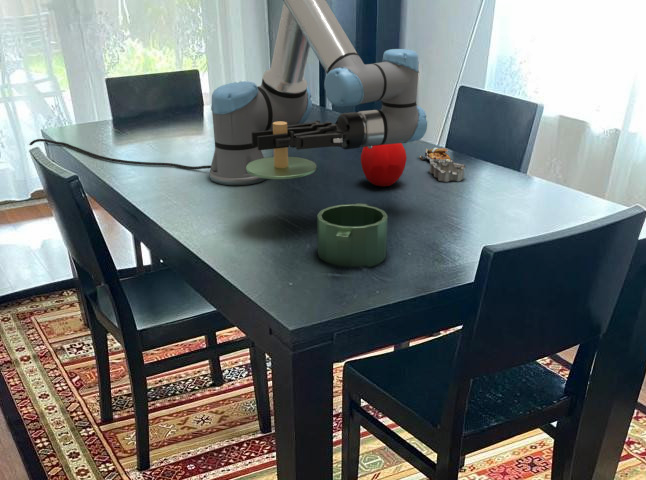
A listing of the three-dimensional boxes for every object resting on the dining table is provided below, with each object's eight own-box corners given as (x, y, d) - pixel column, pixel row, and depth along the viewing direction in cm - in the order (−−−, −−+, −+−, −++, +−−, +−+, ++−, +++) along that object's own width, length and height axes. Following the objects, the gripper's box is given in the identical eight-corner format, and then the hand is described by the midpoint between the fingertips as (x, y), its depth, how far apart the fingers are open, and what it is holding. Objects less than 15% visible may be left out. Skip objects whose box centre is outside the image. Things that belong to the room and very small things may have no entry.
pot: (307, 271, 147) (306, 229, 143) (329, 236, 163) (329, 198, 159) (376, 277, 144) (377, 235, 140) (392, 241, 160) (394, 202, 156)
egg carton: (465, 181, 197) (467, 166, 195) (437, 182, 196) (438, 167, 194) (454, 169, 206) (455, 154, 204) (427, 170, 206) (428, 155, 204)
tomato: (353, 189, 192) (353, 136, 186) (369, 175, 202) (370, 125, 196) (397, 194, 188) (399, 140, 182) (411, 180, 198) (413, 129, 192)
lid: (236, 179, 157) (233, 129, 152) (258, 159, 169) (256, 113, 164) (306, 184, 154) (305, 133, 149) (323, 164, 166) (323, 116, 161)
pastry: (440, 169, 207) (441, 156, 205) (417, 158, 216) (418, 145, 215) (462, 166, 209) (463, 153, 208) (439, 155, 219) (440, 143, 217)
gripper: (374, 156, 160) (269, 169, 152) (342, 138, 173) (244, 149, 164) (375, 120, 156) (267, 131, 148) (343, 104, 169) (242, 114, 161)
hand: (255, 141), depth 156 cm, fingers closed on lid, 3 cm apart
